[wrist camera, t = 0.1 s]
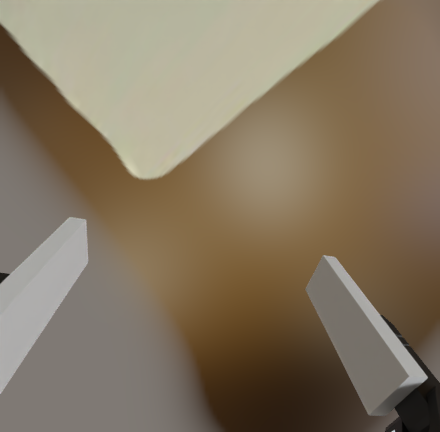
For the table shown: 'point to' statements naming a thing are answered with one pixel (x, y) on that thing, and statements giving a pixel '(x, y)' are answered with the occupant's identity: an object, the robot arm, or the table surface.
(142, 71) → the table surface
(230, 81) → the table surface
